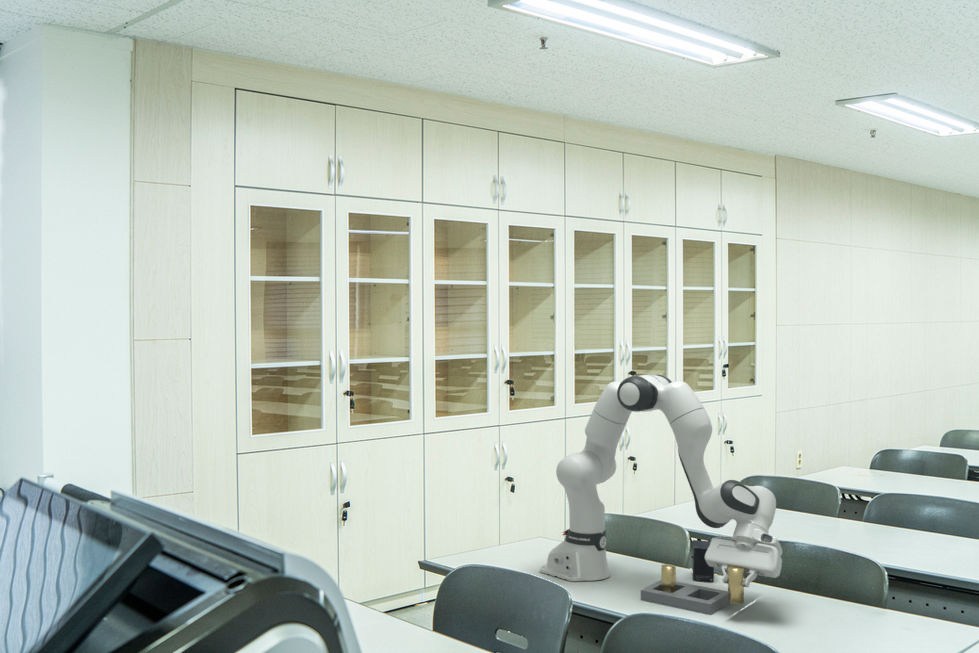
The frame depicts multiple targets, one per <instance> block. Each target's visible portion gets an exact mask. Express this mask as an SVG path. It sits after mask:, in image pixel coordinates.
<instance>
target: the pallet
mask: <svg viewBox="0 0 979 653" xmlns="http://www.w3.org/2000/svg"><path fill="white" fill-rule="evenodd" d="M640 601H643V602H648V603H652V604H656V605H661V606H666V607H671V608H676V609H681V610H686V611H689V612H690V611H691V612H695V613H701V614H705V615H709V616H711V615H713V614H715V613H716V612H718V611H719V610H721V609H723V608H724V607H726V606H728V605H729V604H730V603H729V602H728V590H722V589H717V588H712V587H706V586H701V585H697V584H692V583H685V582H680V581H676V592H674V593H669V592H664V591H662V579H661V580H659V581H656V582H655V583H652V584H650V585H648V586H646V587H644V588H642V589H640Z"/></svg>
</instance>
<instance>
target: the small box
mask: <svg viewBox="0 0 979 653" xmlns="http://www.w3.org/2000/svg"><path fill="white" fill-rule="evenodd" d="M710 542H711V540H710V541H709V540H700V539H699V540H698V539H697V540H696V539H693V540H692V571H693V573H692V579H693V580H692V581H693V582H703V581H704V582H705V583H706V582H707V583H714V580H715V579H714V578H715V567H710V566H709V565H708V564H707V562H706V560H705V554H706V552H707V549H708V547H709V546H710Z"/></svg>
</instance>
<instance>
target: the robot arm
mask: <svg viewBox="0 0 979 653" xmlns="http://www.w3.org/2000/svg"><path fill="white" fill-rule="evenodd" d="M657 410H659V411H661V412H662V413H663V414H664V416H665V418H666V419H667V422H668V424H669V426H670V429H671V430H672V432H673V435H674V438H675V441H676V445H677V453H678V456H679V461H680V463H681V466H682V469H683V472H684V473H685V476H686V480H687V481H688V485H689V487H690V490H691V493H692V496H693V499H694V505H695V506H694V507H695V510H696V511H695V512H696V514H697V517H698V518H699V519H700V522H702V523H703V524H704V525H706V526H707V527H709V528H713V529H720V528H723V527H724V526H726V525H727V524H728V523H729V522H730V521H733V520H734V521H735V522H736V525H735V529H734V531H733V533H732V534H733V535H732V536H723V535H717V536H715V537H712V538H711V540H710V541H711V542H710V546H709V547H708V549H707V552H706V554H705V560H706V562H707V564H708V565H709V566H710V567H714V568H717V569H721V570H722V573H723V576H722V579H721V580H722V583H723V584H727V585H728V567H730V566H738V567H742V568H744V574H748V575H747V577H744V578H743V581H742V585H743V587H744V588H749V587H750V584H751V583H752V582H753V581H755V579H757V576H761V577H766V578H767V577H769V578H773V579H776V578H778V577H780V575H781V570H782V565H783V558H782V557H781V556H782V554H783V549H782V546H781V543H780V541H779V540H778V538H777V537H775V536H774V535H772V534H769V531H770V530H769V529H770V528H771V526H772V524H773V522H774V518H775V514H776V511H777V510H776V509H777V499H776V496H775V495H774V493H773V492H772V491H771V490H770V489H768V488H766V487H764V486H762V485H753V486H752V485H751V486H750V485H746V484H744V483H742V482H741V481H739V480H735V479H728V480H726V481H724V482H723V483H721V484H719V485H717V486H716V487H714V486H713V484H712V481H711V478H710V476H709V473H708V471H707V468H706V465H705V462H704V459H705V458H704V456H705V451H706V449H707V446H708V444H709V442H710V439H711V438H712V435H713V434H712V433H713V425H712V422H711V418H710V416H709V415H708V412H707V410H706V409H705V407H704V405H703V404H702V401H701V400H700V399H699V397H698V396H697V395H696V393H695V391H694V390H693V389H692V388H691V387H690V385H689V384H688V383H687V382H685V381H682V380H675V381H673V380H671V379H669V377H667V376H664V375H661V374H651V373H649V374H642V375H641V374H640V375H631V376H629V377H626V378H624V380H622V381H619V380H617V381H616V380H615V381H611V382H609V383H608V384H606V386H605V387H604V389H603V391H602V393H601V394H600V396H599V398H598V399H597V401H596V403H595V404H594V407H593V410H592V411H591V414H590V417H589V419H588V421H587V424H586V426H585V428H584V433H585V435H586V440H585V446H584V447H583V449H582V450H581V452H576V453H571V454H569V455H567V456H565V457H564V458H562V459H561V460H560V461H559V462H558V463H557V466H556V470H555V471H556V473H555V474H556V478H557V481H558V482H559V484H560V485H561V486H562V487H563V488H564V491H565V494H566V497H567V500H568V510H569V512H568V513H569V528H568V529H566V530H565V531H562V532H561V533H562V536H565V538H564V540H563V541H561V542H560V543H559V544H558V545H557V546H555V547H553V548H552V549H551V550H550V552H548V556H547V560H546V564H543V565H542V566H540V568H539V572H540V573H543V574H545V575H548V574H549V576H553V577H555V576H557V577H556V578H559V579H563V580H565V579H566V581H569V582H582V581H589V582H591V581H601V580H605V579H607V578H610V576H611V574H610V570H609V566H608V561H607V560H608V558H607V552H606V550H607V549H606V548H607V531H606V528H605V524H606V522H605V521H606V519H605V517H606V514H605V504H604V503H603V502H602V501H601V499H600V497H599V493H598V489H597V485H600V484H602V483H605V482H607V481H608V480H609V479H611V477H613V475H615V473H616V470H617V461H616V453H617V448H618V444H619V443H620V440H621V437H622V435H623V433H624V430H625V428H626V425H627V423H628V421H629V419H630V416H631V414H632V412H635V413H639V412H642V413H643V412H644V413H645V412H648V413H649V412H652V411H653V412H654V411H657Z"/></svg>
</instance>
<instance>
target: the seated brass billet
mask: <svg viewBox="0 0 979 653" xmlns="http://www.w3.org/2000/svg"><path fill="white" fill-rule="evenodd" d="M676 569H677V568H676V565H675V564H672V563H671V564H670V563H663V564H662V565H661V580H662V591H664V592H669V593H674V592H676V582H677V580H676V579H677V572H676Z"/></svg>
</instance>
